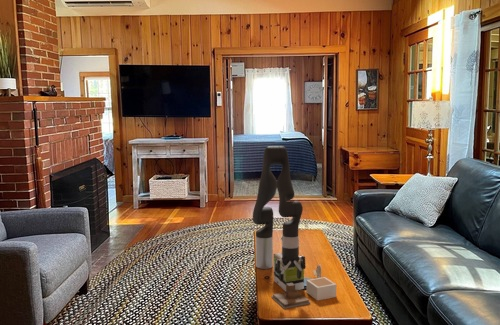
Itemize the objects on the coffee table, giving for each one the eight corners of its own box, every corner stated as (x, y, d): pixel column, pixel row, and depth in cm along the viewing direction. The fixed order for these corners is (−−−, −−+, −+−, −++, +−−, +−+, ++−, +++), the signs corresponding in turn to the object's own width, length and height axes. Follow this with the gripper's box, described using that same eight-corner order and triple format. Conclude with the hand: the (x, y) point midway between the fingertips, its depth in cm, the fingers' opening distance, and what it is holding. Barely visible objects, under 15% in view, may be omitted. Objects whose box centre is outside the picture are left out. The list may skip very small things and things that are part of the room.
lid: (272, 296, 203) (272, 281, 202) (296, 292, 207) (296, 277, 207) (284, 306, 192) (284, 291, 191) (308, 302, 196) (308, 287, 196)
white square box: (306, 292, 208) (306, 280, 208) (324, 288, 212) (324, 276, 211) (317, 300, 199) (317, 287, 198) (336, 296, 203) (336, 284, 202)
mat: (271, 297, 203) (271, 296, 203) (296, 292, 208) (296, 291, 208) (284, 308, 191) (284, 307, 191) (310, 303, 196) (310, 302, 196)
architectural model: (314, 282, 222) (314, 267, 221) (313, 276, 229) (313, 263, 228) (321, 282, 222) (321, 267, 221) (319, 276, 229) (319, 263, 228)
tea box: (273, 281, 222) (272, 253, 221) (291, 278, 226) (290, 250, 224) (285, 292, 208) (285, 262, 207) (304, 289, 212) (304, 259, 210)
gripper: (300, 240, 203) (300, 274, 205) (272, 244, 197) (272, 279, 200) (308, 245, 196) (308, 280, 198) (279, 249, 191) (279, 285, 193)
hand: (290, 279), depth 199 cm, fingers open, 8 cm apart
